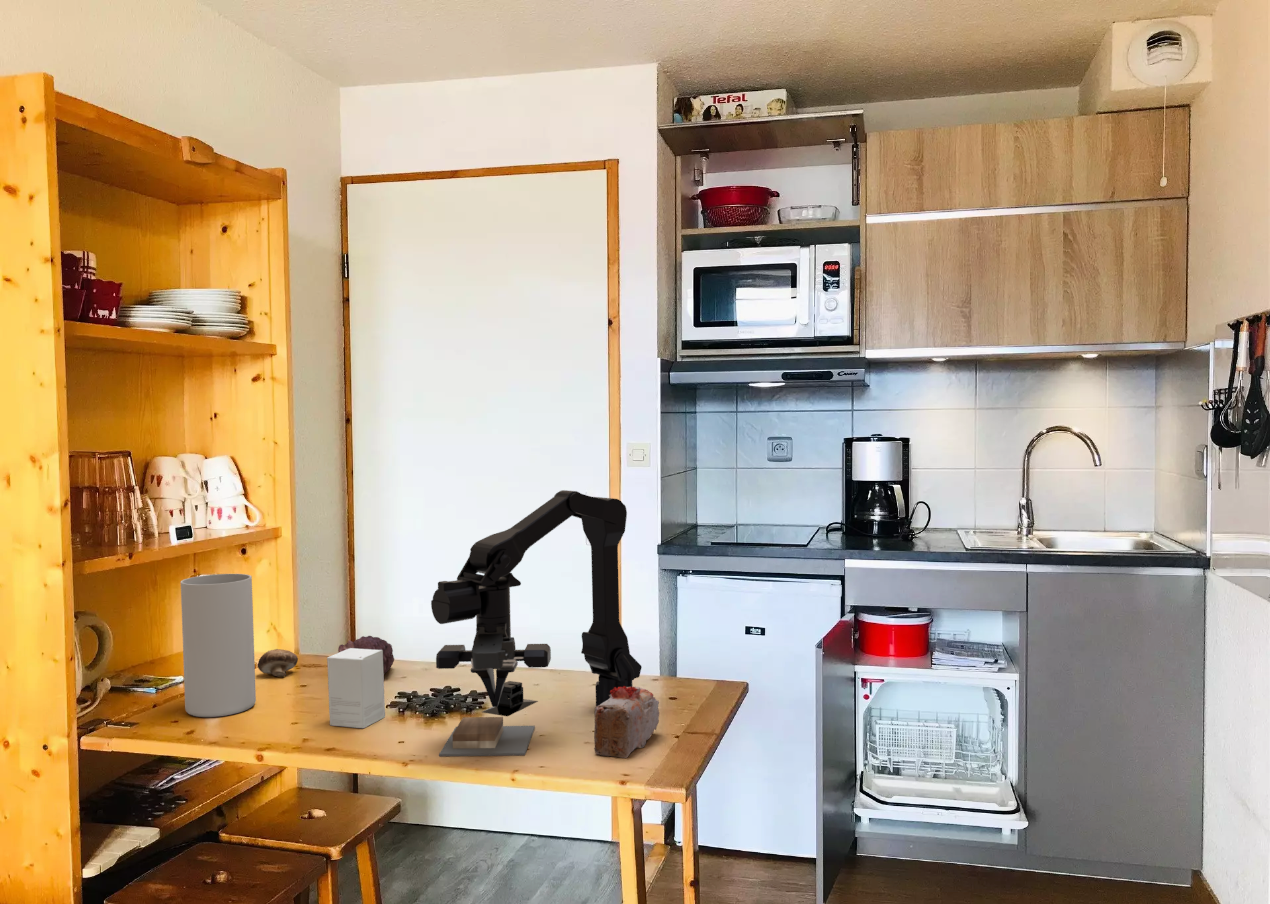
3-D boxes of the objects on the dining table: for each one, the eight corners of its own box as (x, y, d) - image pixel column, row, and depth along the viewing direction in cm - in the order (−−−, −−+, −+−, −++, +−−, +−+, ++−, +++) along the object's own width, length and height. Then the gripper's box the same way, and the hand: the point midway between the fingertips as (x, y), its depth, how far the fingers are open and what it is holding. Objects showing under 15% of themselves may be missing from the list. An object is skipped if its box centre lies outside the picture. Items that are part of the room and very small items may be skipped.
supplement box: (386, 717, 183) (384, 649, 183) (363, 729, 176) (361, 659, 176) (352, 713, 186) (350, 646, 185) (327, 725, 179) (325, 656, 178)
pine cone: (366, 666, 220) (390, 628, 220) (396, 692, 216) (420, 654, 216) (314, 663, 204) (340, 623, 204) (345, 692, 200) (372, 650, 200)
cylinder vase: (261, 711, 188) (257, 580, 187) (189, 722, 182) (184, 587, 181) (249, 695, 199) (245, 571, 198) (181, 705, 192) (176, 577, 191)
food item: (619, 729, 174) (618, 674, 173) (662, 734, 171) (661, 677, 171) (589, 755, 161) (588, 695, 160) (636, 760, 158) (635, 699, 158)
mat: (534, 727, 175) (534, 725, 175) (524, 755, 161) (524, 752, 161) (455, 728, 176) (455, 726, 176) (439, 756, 162) (439, 753, 162)
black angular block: (506, 721, 181) (505, 695, 181) (472, 716, 184) (471, 690, 184) (545, 702, 193) (545, 677, 192) (512, 697, 196) (512, 673, 196)
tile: (503, 716, 173) (463, 717, 173) (494, 733, 164) (452, 734, 164) (503, 730, 173) (463, 730, 173) (494, 747, 164) (452, 748, 164)
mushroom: (287, 666, 209) (282, 639, 212) (253, 681, 209) (248, 654, 212) (306, 675, 216) (301, 649, 219) (273, 689, 216) (269, 663, 219)
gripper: (427, 625, 160) (430, 721, 160) (543, 624, 159) (545, 720, 160) (442, 611, 171) (444, 701, 171) (550, 610, 170) (552, 700, 171)
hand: (495, 706), depth 168 cm, fingers closed
